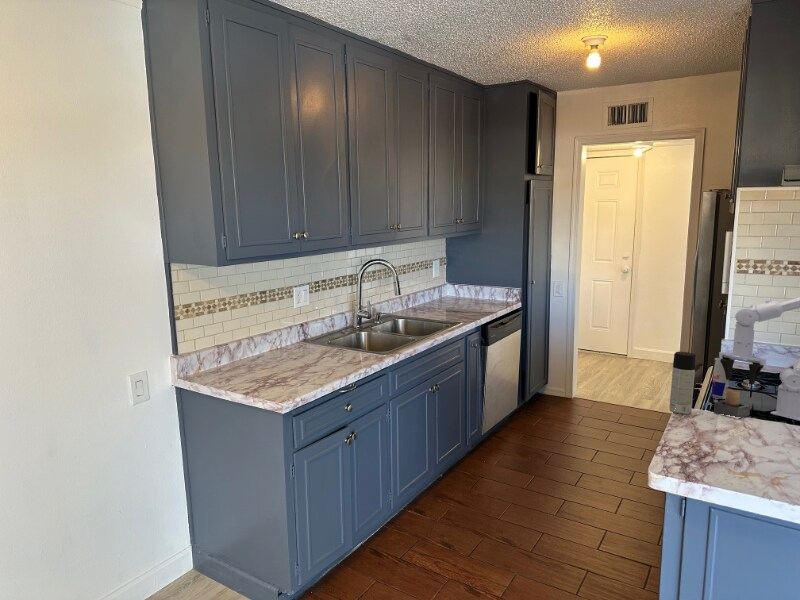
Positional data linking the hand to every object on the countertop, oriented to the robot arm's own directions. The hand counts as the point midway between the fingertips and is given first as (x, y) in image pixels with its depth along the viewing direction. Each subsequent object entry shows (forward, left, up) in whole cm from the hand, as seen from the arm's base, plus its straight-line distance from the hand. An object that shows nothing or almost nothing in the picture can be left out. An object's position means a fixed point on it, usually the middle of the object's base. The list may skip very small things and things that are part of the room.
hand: (739, 381), depth 193 cm
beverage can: (+10, -7, -10) cm, 16 cm away
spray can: (+7, +23, -10) cm, 26 cm away
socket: (-3, +10, -9) cm, 14 cm away
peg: (-3, +10, -9) cm, 14 cm away
